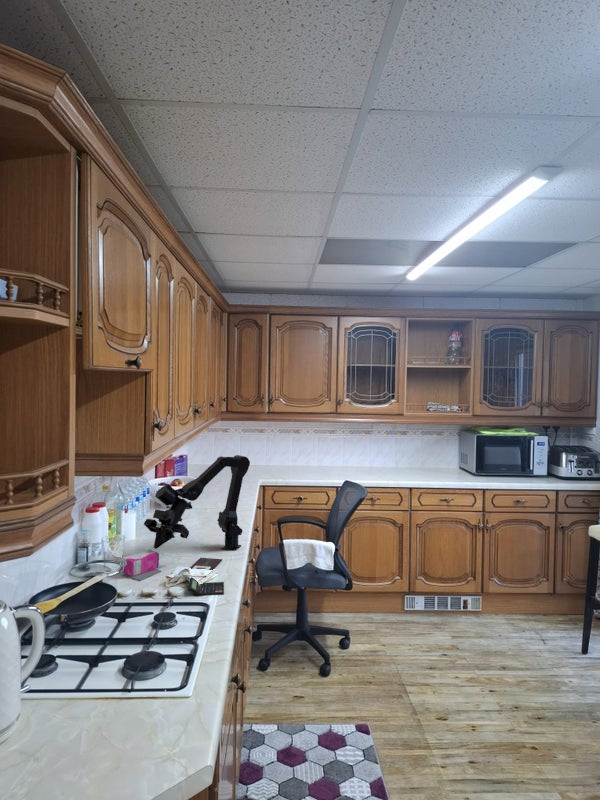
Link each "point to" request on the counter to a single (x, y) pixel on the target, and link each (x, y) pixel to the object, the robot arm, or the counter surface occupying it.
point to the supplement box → (140, 563)
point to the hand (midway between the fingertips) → (155, 548)
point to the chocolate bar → (206, 563)
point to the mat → (143, 575)
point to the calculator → (206, 588)
